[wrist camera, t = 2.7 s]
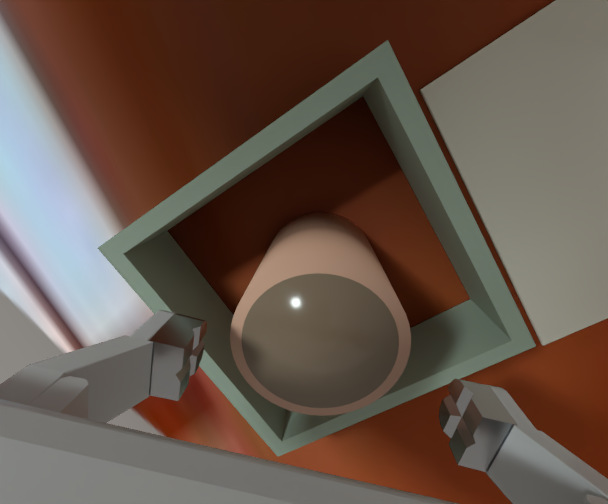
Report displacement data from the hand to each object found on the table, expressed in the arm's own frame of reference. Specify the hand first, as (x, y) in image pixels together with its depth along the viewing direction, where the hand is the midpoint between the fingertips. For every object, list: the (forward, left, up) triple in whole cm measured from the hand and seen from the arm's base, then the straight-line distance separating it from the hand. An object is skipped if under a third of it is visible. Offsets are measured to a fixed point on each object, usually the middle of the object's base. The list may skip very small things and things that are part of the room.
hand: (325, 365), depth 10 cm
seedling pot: (-1, 0, -8) cm, 8 cm away
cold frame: (-1, 0, -8) cm, 8 cm away
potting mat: (+2, +13, -8) cm, 15 cm away
